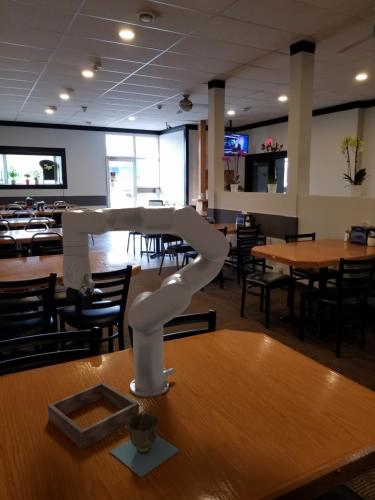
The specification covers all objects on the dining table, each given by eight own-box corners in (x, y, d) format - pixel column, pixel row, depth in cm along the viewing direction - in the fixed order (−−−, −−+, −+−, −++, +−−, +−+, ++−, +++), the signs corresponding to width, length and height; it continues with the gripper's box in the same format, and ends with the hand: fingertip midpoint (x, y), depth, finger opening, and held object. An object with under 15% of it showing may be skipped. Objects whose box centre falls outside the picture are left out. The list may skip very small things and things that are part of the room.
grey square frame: (103, 395, 120) (102, 381, 120) (139, 418, 108) (138, 403, 107) (48, 420, 108) (47, 405, 107) (82, 449, 95) (81, 432, 94)
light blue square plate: (147, 430, 102) (147, 429, 102) (179, 451, 94) (179, 449, 94) (109, 452, 94) (109, 451, 94) (141, 477, 86) (140, 475, 85)
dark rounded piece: (153, 462, 90) (153, 431, 88) (124, 458, 91) (122, 427, 90) (162, 442, 97) (161, 412, 96) (134, 438, 98) (133, 409, 97)
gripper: (51, 249, 121) (54, 302, 123) (80, 255, 109) (83, 313, 111) (73, 246, 126) (75, 297, 129) (102, 252, 114) (105, 307, 117)
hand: (79, 304), depth 120 cm, fingers open, 9 cm apart
